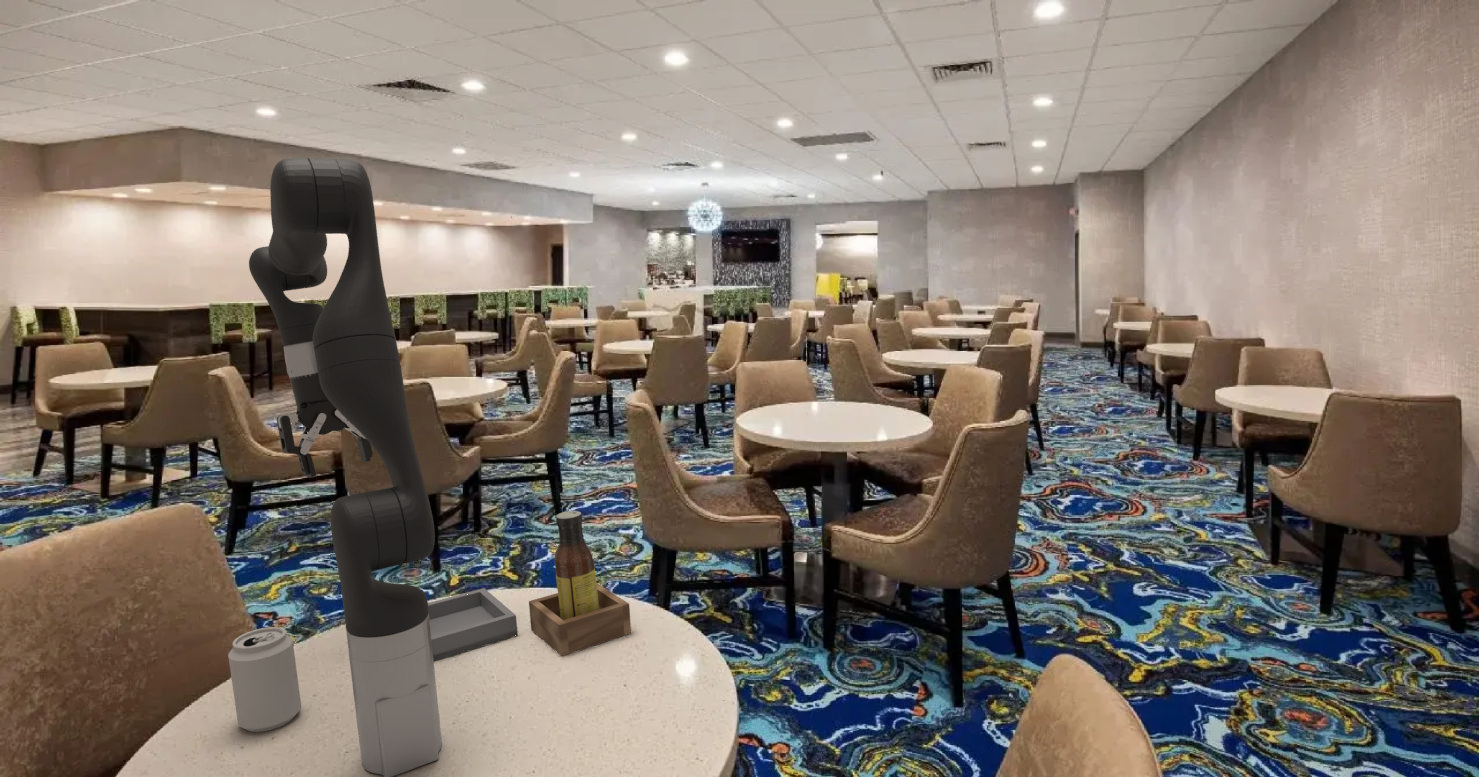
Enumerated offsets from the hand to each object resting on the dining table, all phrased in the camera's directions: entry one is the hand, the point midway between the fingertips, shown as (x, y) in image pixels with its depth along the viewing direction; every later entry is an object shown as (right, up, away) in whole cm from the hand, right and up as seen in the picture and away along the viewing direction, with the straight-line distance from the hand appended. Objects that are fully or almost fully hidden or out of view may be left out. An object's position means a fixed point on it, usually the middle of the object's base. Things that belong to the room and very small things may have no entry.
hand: (339, 469), depth 133 cm
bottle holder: (+39, -27, +1) cm, 47 cm away
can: (+1, -32, -22) cm, 39 cm away
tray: (+18, -27, +2) cm, 33 cm away
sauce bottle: (+39, -27, +1) cm, 47 cm away
